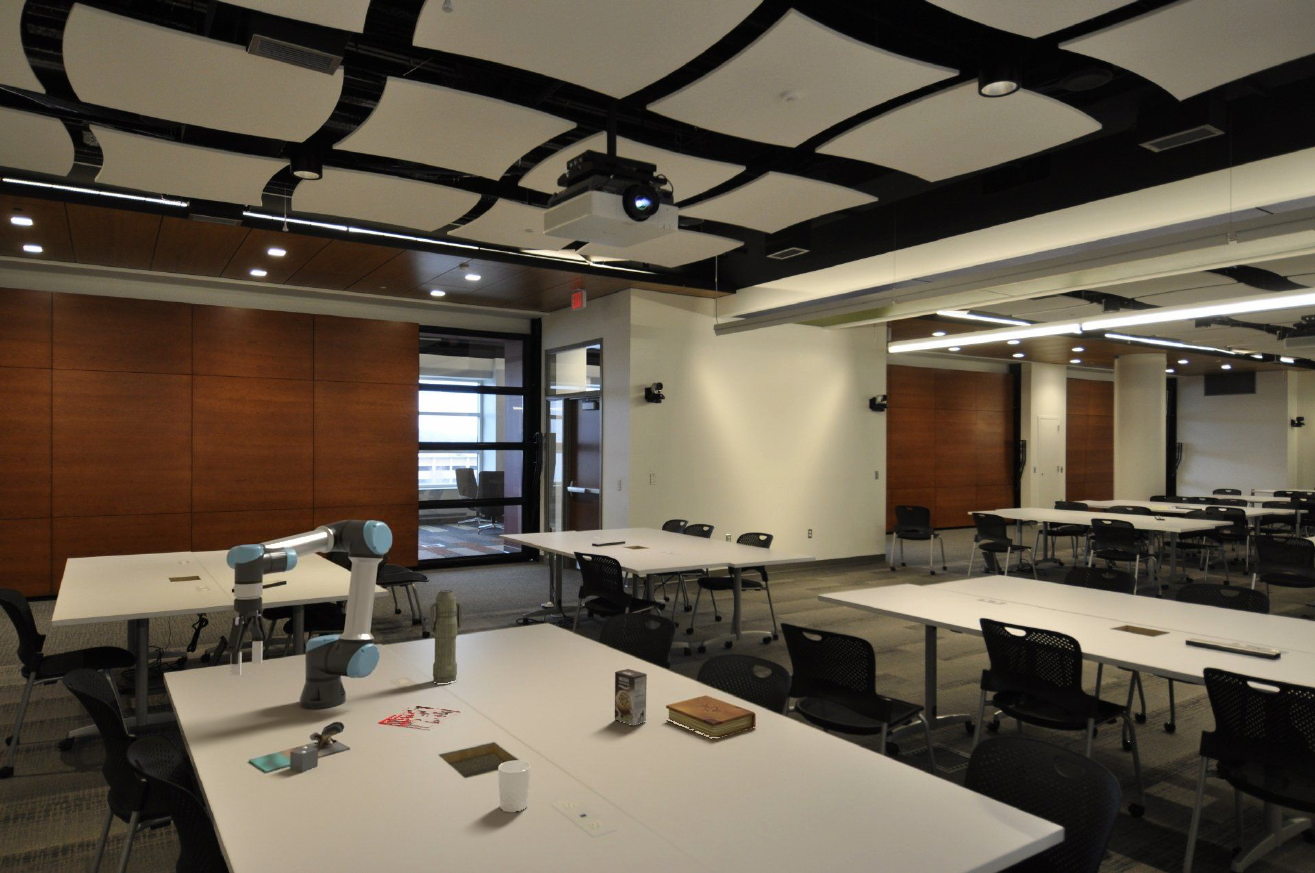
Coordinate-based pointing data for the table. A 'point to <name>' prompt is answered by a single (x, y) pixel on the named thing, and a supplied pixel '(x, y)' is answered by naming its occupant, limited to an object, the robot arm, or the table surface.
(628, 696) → the coffee box
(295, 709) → the table surface
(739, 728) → the diary
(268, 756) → the track board
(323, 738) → the dark olive curved figure
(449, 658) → the thermos
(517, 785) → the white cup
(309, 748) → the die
